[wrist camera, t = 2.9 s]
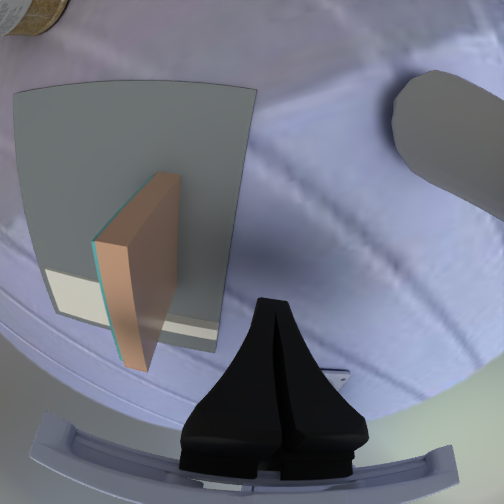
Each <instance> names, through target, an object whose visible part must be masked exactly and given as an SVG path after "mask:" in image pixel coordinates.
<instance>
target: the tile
mask: <svg viewBox="0 0 504 504" xmlns="http://www.w3.org/2000/svg"><path fill="white" fill-rule="evenodd" d="M180 183H181V175H179V174H172V173H163V172H158V173H157V174H156V175H155V176H151V177H150V178H149V179H148V180H147V181H146V182H145V183H144V184H143V185H142V186H141V187H140V188H139V189H138V190H137V191H136V192H135V194H134V195H133V196H132V197H131V198H130V199H129V200H128V201H127V202H126V203H125V204H124V205H123V206H122V207H121V208H120V209H119V210H118V211H117V213H116V214H115V215H114V216H113V217H112V218H111V219H110V220H109V221H108V222H107V224H106V225H105V226H104V227H103V228H102V229H101V230H100V232H99V233H98V234H97V235H96V236H95V237H94V239H93V240H92V241H91V243H92V249H93V254H94V260H95V265H96V270H97V275H98V280H99V284H100V289H101V293H102V297H103V301H104V305H105V309H106V313H107V317H108V321H109V324H110V328H111V331H112V335H113V338H114V341H115V345H116V348H117V351H118V354H119V357H120V360H121V361H123V362H124V365H125V367H128V368H132V369H136V370H139V371H143V372H147V373H148V370H149V367H150V364H151V360H152V357H153V354H154V351H155V348H156V345H157V342H158V339H159V336H160V333H161V330H162V327H163V325H164V322H165V319H166V316H167V313H168V310H169V307H170V305H171V302H172V299H173V296H174V294H175V291H176V288H177V248H178V219H179V199H180Z"/></svg>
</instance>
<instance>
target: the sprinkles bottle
mask: <svg viewBox="0 0 504 504" xmlns="http://www.w3.org/2000/svg"><path fill="white" fill-rule="evenodd" d="M67 1H68V0H0V37H2V36H8V35H28V36H35V35H38V34H40V33H42V32H44V31H46V30H47V29H48V28H50V27H51V26H52V25H53V24H54V23H55V22H56V21H57V19H58V18H59V17H60V15H61V13H62V11H63V10H64V8H65V6H66V3H67Z"/></svg>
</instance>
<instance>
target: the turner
mask: <svg viewBox="0 0 504 504" xmlns="http://www.w3.org/2000/svg"><path fill="white" fill-rule="evenodd" d="M45 272H46V275H47V278H48V281H49V284H50V287H51V290H52V292H53V295H54V298H55V301H56V303H57V306H58V308H59V311H61V312H64V313H67V314H70V315H74V316H77V317H80V318H83V319H87V320H90V321H93V322H97V323H100V324H104V325H107V326H110V324H109V321H108V317H107V313H106V309H105V305H104V301H103V297H102V293H101V289H100V284H99V280H96V279H92V278H88V277H84V276H80V275H76V274H72V273H68V272H64V271H60V270H56V269H53V268H49V267H46V268H45ZM218 327H219V322H213V321H207V320H202V319H196V318H191V317H186V316H180V315H175V314H170V313H167V316H166V319H165V322H164V325H163V327H162V330H165V331H169V332H174V333H179V334H184V335H189V336H195V337H200V338H206V339H211V340H217V334H218Z"/></svg>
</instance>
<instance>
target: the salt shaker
mask: <svg viewBox="0 0 504 504" xmlns="http://www.w3.org/2000/svg"><path fill="white" fill-rule="evenodd" d="M391 125H392V130H393V137H394V142H395V148H396V149H397V151H398V152H399V154H400V155H401V157H402V158H403V160H404V161H405V163H406V164H407V166H408V168H409V169H410V170H411V171H412V172H413V173H414V174H416V175H418V176H419V177H421V178H423V179H424V180H426V181H427V182H429V183H431V184H433V185H435V186H437V187H439V188H441V189H444V190H446V191H448V192H450V193H452V194H454V195H456V196H458V197H460V198H462V199H464V200H465V201H467V202H469V203H471V204H473V205H475V206H477V207H479V208H480V209H482V210H484V211H486V212H488V213H489V214H491V215H493V216H495V217H496V218H498V219H500V220H501V221H503V222H504V100H502V99H500V98H499V97H497V96H495V95H494V94H492V93H490V92H488V91H486V90H485V89H483V88H481V87H479V86H477V85H475V84H473V83H471V82H469V81H467V80H465V79H463V78H461V77H459V76H457V75H454V74H450V73H446V72H442V71H438V70H433V71H429V72H427V73H424V74H422V75H419V76H417V77H415V78H412V79H410V80H409V82H408V83H407V84H406V85H405V87H404V88H403V89H402V90H401V92H400V93H399V94H398V95H397V97H396V98H395V99H394V101H393V116H392V121H391Z"/></svg>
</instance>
